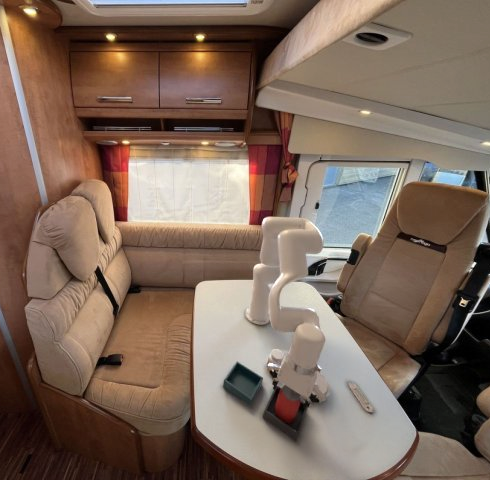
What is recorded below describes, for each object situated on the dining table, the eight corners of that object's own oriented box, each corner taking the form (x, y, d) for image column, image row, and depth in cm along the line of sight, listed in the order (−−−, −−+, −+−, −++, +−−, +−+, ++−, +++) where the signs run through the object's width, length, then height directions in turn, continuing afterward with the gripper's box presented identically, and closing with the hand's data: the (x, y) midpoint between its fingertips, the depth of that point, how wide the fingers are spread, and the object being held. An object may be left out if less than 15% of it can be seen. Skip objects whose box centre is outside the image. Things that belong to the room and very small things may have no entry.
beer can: (296, 426, 77) (304, 404, 72) (275, 421, 78) (282, 400, 73) (292, 405, 83) (300, 384, 78) (273, 401, 84) (279, 380, 79)
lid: (283, 377, 93) (286, 369, 91) (308, 367, 97) (311, 359, 95) (308, 409, 82) (311, 401, 80) (334, 397, 86) (338, 388, 84)
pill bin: (236, 367, 96) (236, 361, 94) (261, 384, 90) (263, 377, 88) (223, 386, 89) (223, 380, 87) (250, 406, 83) (251, 399, 81)
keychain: (375, 411, 81) (367, 411, 81) (374, 412, 82) (366, 412, 81) (354, 381, 91) (347, 382, 91) (354, 382, 91) (346, 383, 91)
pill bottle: (263, 371, 95) (267, 354, 91) (270, 361, 99) (273, 345, 95) (277, 380, 92) (281, 363, 87) (283, 370, 95) (287, 353, 91)
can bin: (274, 391, 88) (276, 384, 86) (305, 411, 82) (308, 404, 80) (262, 417, 80) (264, 410, 78) (296, 442, 74) (299, 435, 72)
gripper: (336, 369, 67) (320, 403, 75) (277, 338, 77) (268, 371, 84) (331, 389, 62) (315, 425, 69) (268, 353, 71) (260, 388, 79)
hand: (289, 395), depth 77 cm, fingers open, 9 cm apart
